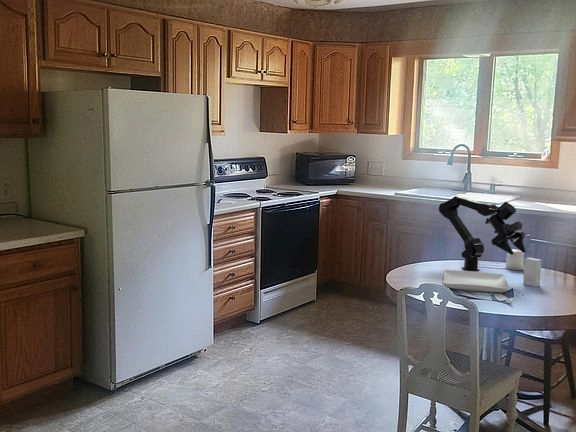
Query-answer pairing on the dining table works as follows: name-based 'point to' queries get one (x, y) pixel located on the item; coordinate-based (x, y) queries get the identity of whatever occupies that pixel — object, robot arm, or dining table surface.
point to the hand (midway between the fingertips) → (518, 253)
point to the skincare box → (532, 272)
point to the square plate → (475, 281)
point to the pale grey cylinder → (515, 260)
